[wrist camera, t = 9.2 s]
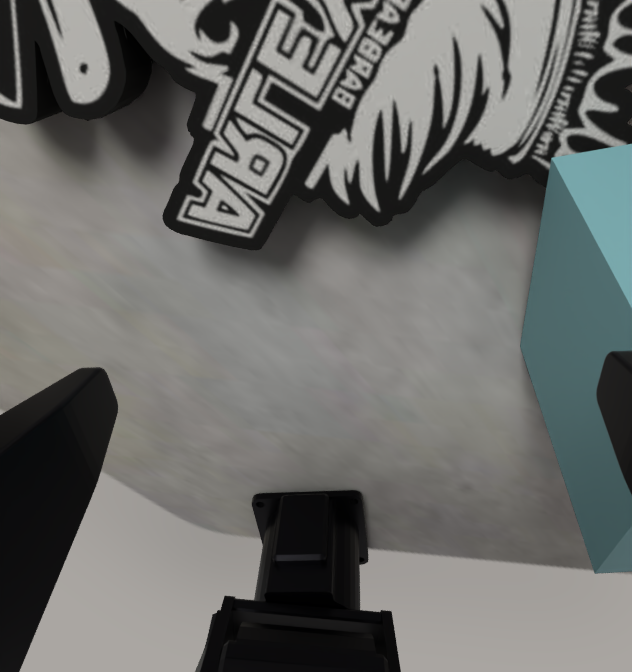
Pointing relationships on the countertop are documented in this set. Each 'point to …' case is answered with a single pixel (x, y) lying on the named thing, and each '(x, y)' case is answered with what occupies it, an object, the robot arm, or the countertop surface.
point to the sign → (331, 93)
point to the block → (584, 335)
